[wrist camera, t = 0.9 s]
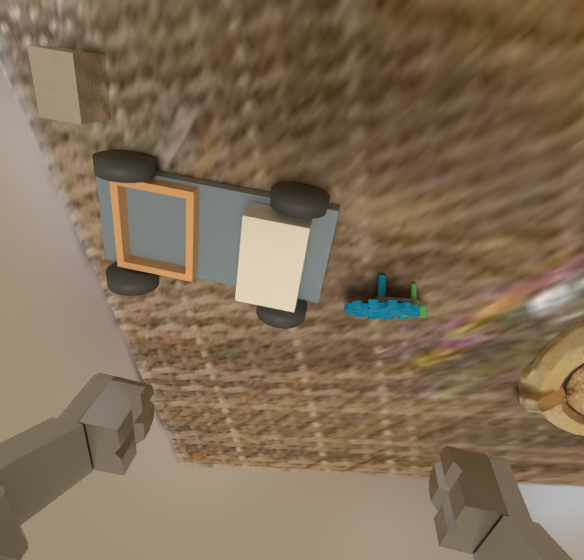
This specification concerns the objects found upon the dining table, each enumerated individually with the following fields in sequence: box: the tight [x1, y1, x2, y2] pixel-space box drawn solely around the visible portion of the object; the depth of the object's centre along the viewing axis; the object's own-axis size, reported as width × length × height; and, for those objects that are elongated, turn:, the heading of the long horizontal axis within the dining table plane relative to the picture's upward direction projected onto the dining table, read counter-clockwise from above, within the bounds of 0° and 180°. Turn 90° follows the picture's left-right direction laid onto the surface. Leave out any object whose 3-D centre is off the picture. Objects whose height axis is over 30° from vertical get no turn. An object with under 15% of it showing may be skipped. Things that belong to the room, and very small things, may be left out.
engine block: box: [27, 45, 111, 125], centre depth 44 cm, size 7×5×6 cm
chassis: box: [93, 150, 339, 328], centre depth 50 cm, size 18×32×7 cm, turn 81°
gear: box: [344, 275, 427, 320], centre depth 52 cm, size 11×6×10 cm
